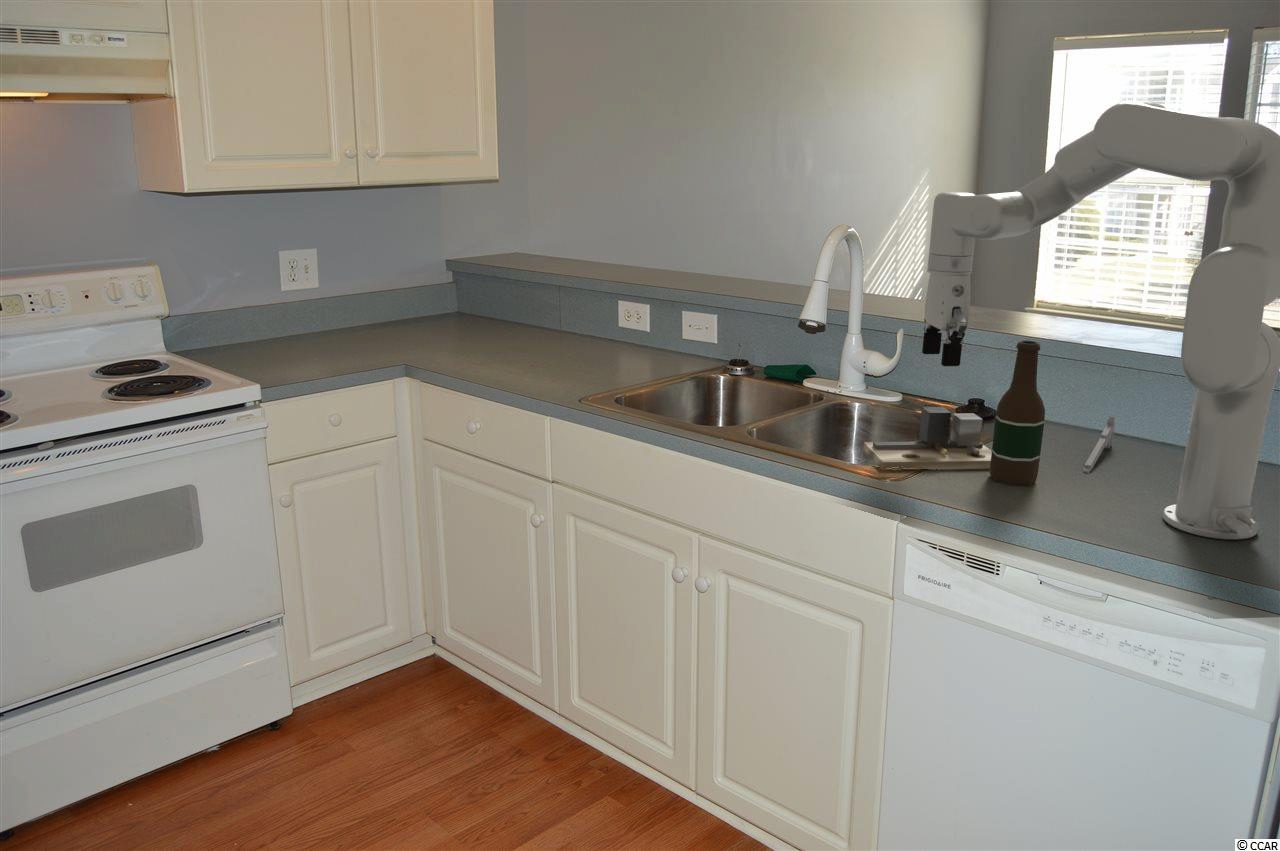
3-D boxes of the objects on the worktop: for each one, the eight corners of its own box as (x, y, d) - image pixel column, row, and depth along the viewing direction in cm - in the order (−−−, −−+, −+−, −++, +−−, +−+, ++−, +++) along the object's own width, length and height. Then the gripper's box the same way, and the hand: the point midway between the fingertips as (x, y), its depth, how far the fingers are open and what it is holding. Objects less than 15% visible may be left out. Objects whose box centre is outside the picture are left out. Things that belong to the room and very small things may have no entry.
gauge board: (1003, 468, 178) (1008, 429, 176) (882, 470, 176) (885, 430, 174) (977, 448, 189) (981, 411, 187) (863, 449, 188) (865, 412, 186)
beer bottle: (992, 469, 177) (1007, 336, 171) (1038, 476, 174) (1056, 340, 167) (985, 482, 170) (1001, 344, 164) (1034, 489, 167) (1052, 348, 161)
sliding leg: (955, 455, 179) (959, 418, 177) (933, 455, 179) (937, 418, 177) (939, 442, 187) (943, 406, 185) (918, 442, 186) (921, 407, 185)
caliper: (1105, 446, 192) (1110, 414, 191) (1111, 447, 192) (1116, 415, 190) (1082, 473, 176) (1086, 439, 175) (1088, 474, 176) (1093, 440, 174)
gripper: (990, 271, 167) (979, 370, 172) (952, 258, 184) (943, 349, 189) (947, 270, 167) (937, 370, 172) (912, 258, 183) (904, 349, 188)
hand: (940, 359), depth 180 cm, fingers open, 9 cm apart
